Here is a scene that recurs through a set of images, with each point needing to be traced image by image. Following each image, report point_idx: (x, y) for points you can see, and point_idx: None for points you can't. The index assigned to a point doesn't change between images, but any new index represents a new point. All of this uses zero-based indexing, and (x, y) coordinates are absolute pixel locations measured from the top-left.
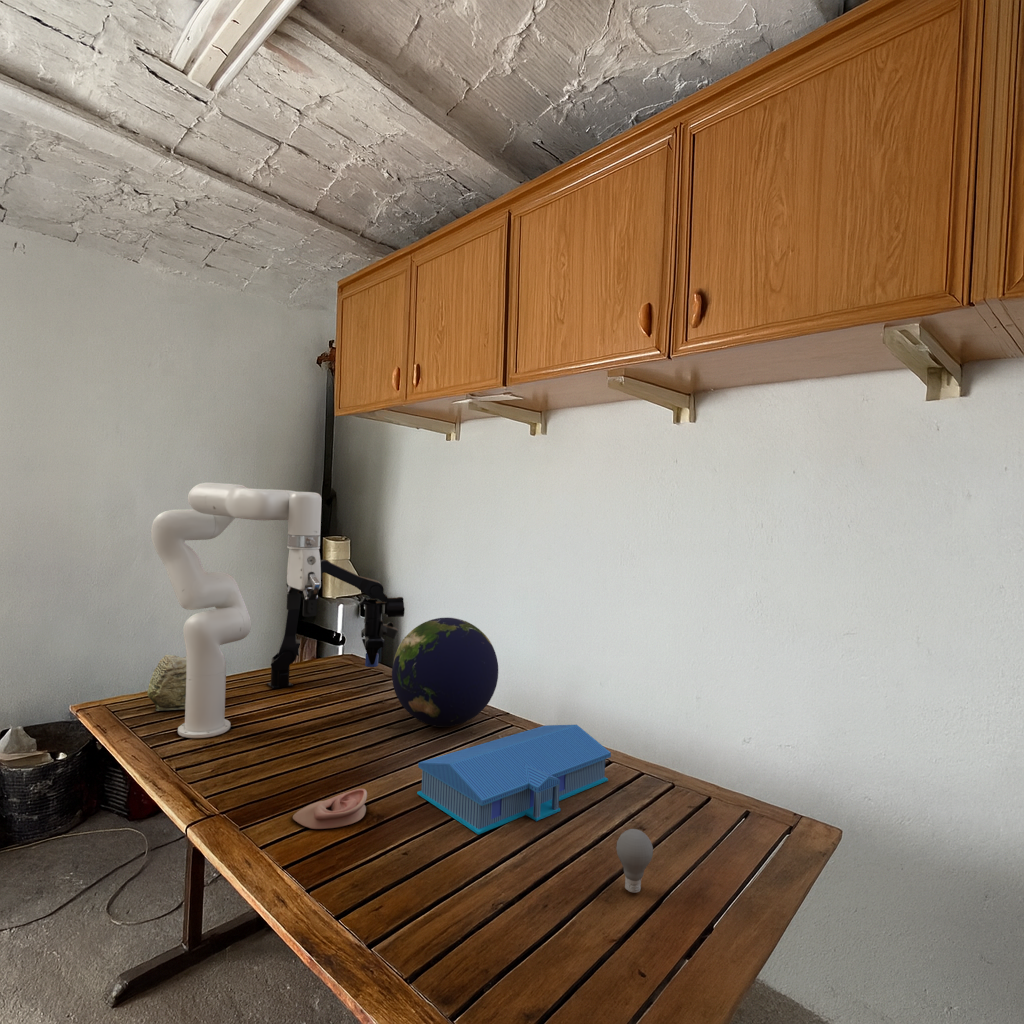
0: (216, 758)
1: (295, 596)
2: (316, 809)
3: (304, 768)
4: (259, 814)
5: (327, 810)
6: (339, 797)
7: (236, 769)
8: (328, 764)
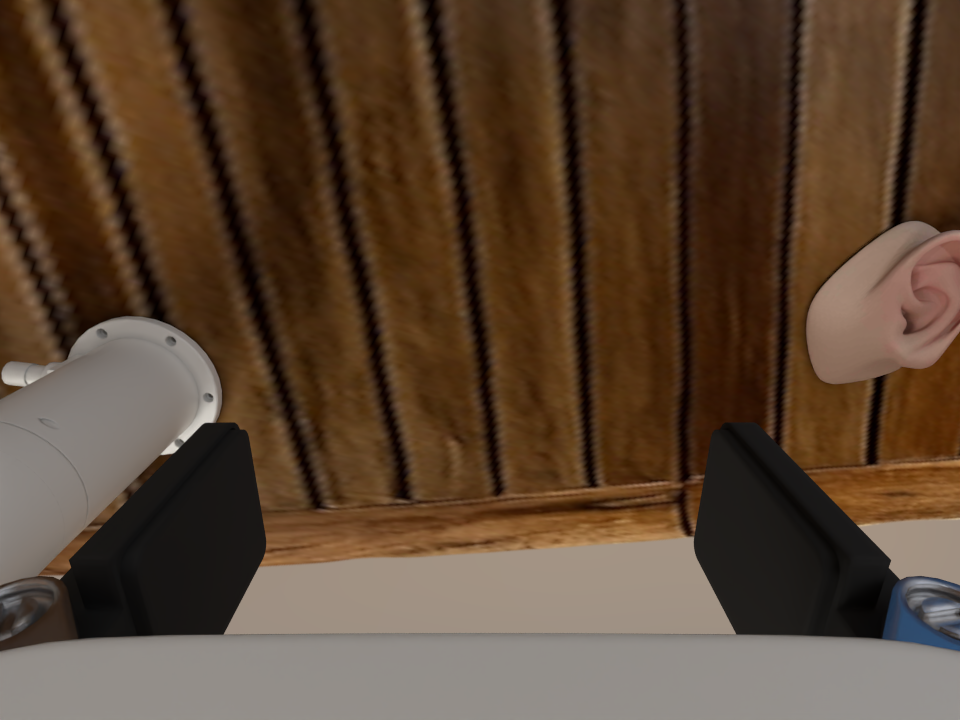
0: (385, 413)
1: (172, 601)
2: (910, 363)
3: (589, 249)
4: None
5: (925, 340)
6: (909, 295)
7: (484, 394)
8: (608, 177)
